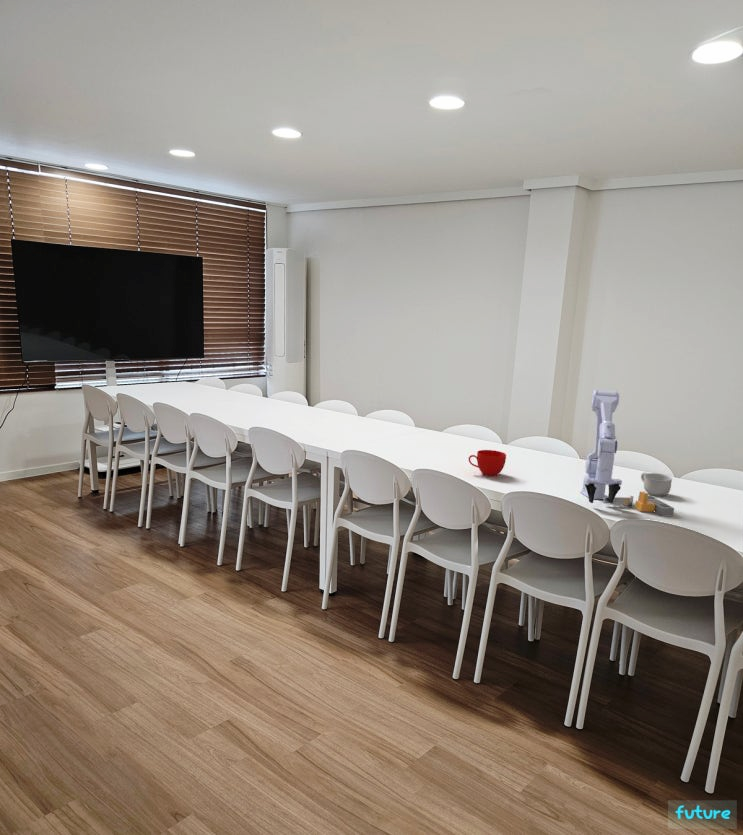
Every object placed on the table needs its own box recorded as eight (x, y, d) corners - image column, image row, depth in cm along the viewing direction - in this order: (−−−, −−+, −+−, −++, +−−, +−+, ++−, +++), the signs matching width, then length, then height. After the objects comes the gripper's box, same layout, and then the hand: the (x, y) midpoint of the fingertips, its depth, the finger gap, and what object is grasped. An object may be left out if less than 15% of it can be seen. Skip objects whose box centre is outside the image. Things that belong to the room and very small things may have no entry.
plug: (635, 508, 242) (637, 491, 241) (648, 508, 243) (650, 491, 242) (640, 511, 238) (643, 494, 237) (654, 511, 239) (656, 494, 238)
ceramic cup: (463, 470, 286) (465, 449, 284) (499, 471, 287) (501, 450, 286) (471, 478, 273) (472, 456, 271) (508, 479, 275) (510, 457, 273)
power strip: (637, 502, 251) (638, 494, 250) (649, 502, 251) (650, 494, 251) (661, 515, 235) (662, 507, 235) (673, 515, 236) (674, 507, 235)
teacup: (675, 497, 260) (678, 479, 259) (652, 498, 258) (655, 479, 256) (653, 488, 273) (656, 470, 272) (632, 488, 271) (634, 470, 270)
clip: (630, 505, 245) (632, 495, 244) (632, 506, 244) (634, 497, 243) (602, 504, 244) (603, 495, 243) (604, 506, 242) (605, 496, 242)
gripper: (592, 471, 233) (588, 505, 236) (627, 471, 235) (623, 505, 238) (583, 466, 240) (579, 499, 243) (618, 466, 242) (613, 500, 245)
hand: (600, 502), depth 241 cm, fingers open, 7 cm apart
